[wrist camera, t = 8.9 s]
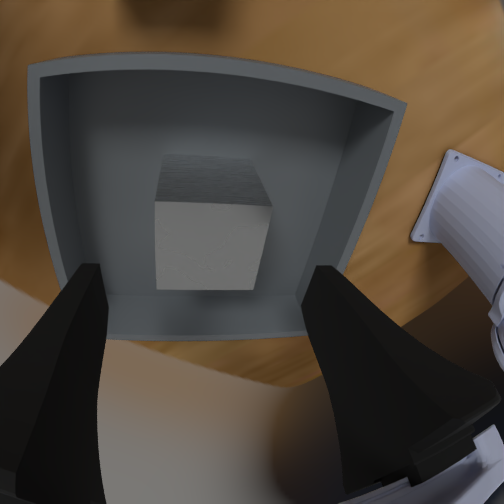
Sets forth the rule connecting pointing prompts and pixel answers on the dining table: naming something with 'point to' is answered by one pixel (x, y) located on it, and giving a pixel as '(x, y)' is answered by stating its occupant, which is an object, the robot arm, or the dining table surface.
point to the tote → (205, 144)
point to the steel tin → (209, 223)
